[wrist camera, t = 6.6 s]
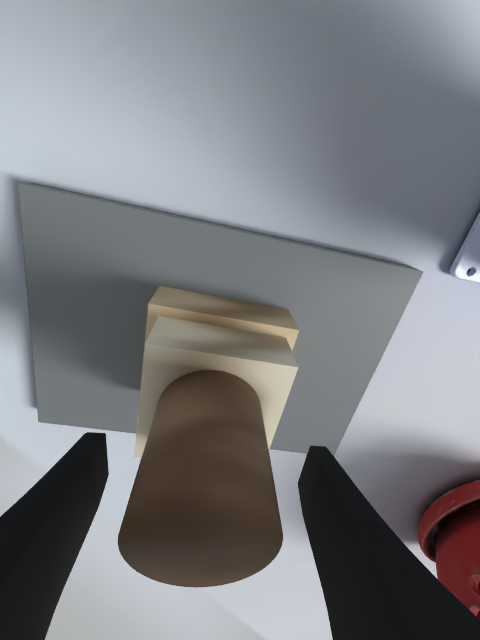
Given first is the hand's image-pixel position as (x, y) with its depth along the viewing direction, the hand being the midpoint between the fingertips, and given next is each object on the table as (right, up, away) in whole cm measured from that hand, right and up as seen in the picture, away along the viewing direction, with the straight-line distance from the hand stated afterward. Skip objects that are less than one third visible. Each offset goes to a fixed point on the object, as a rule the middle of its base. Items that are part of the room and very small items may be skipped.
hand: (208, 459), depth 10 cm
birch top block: (0, +2, +4) cm, 5 cm away
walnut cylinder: (0, +1, +2) cm, 2 cm away
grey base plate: (0, +3, +7) cm, 8 cm away
